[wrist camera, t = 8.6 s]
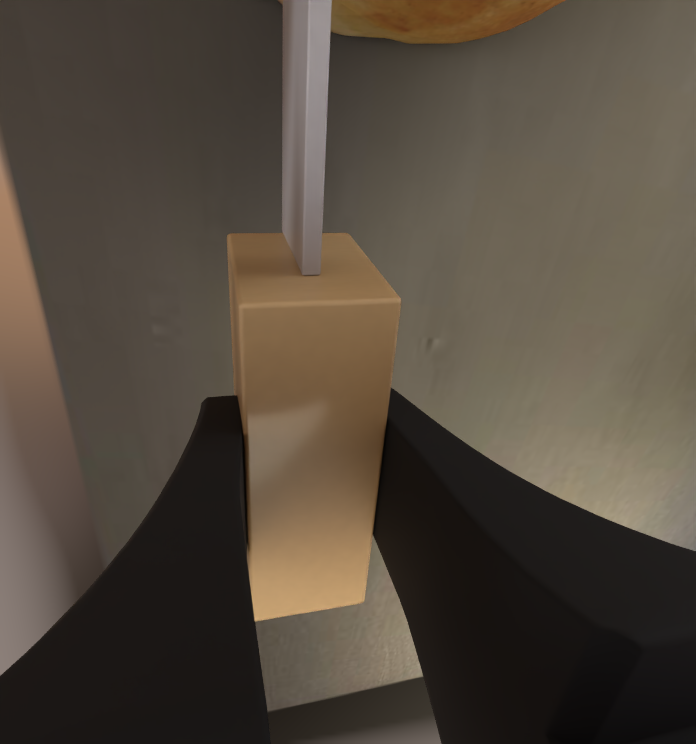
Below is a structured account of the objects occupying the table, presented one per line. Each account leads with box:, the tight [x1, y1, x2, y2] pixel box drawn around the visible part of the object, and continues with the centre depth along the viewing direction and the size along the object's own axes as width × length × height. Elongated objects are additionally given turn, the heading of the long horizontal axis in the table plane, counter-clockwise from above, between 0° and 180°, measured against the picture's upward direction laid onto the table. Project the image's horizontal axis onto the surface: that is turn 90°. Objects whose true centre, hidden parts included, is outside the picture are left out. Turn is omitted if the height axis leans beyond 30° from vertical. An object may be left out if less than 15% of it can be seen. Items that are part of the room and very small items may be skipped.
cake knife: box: [227, 0, 401, 621], centre depth 8 cm, size 19×2×3 cm, turn 176°
